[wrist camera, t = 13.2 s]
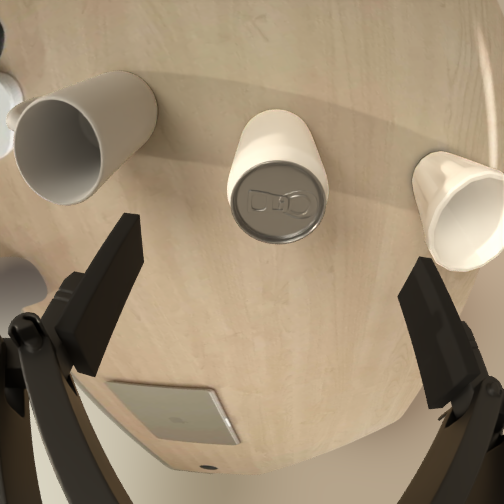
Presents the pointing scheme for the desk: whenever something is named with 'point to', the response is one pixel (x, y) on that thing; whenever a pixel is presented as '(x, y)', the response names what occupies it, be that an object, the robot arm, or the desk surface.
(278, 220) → the can
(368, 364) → the desk surface
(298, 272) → the desk surface
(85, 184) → the mug
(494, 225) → the cup
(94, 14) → the desk surface
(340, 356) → the desk surface
